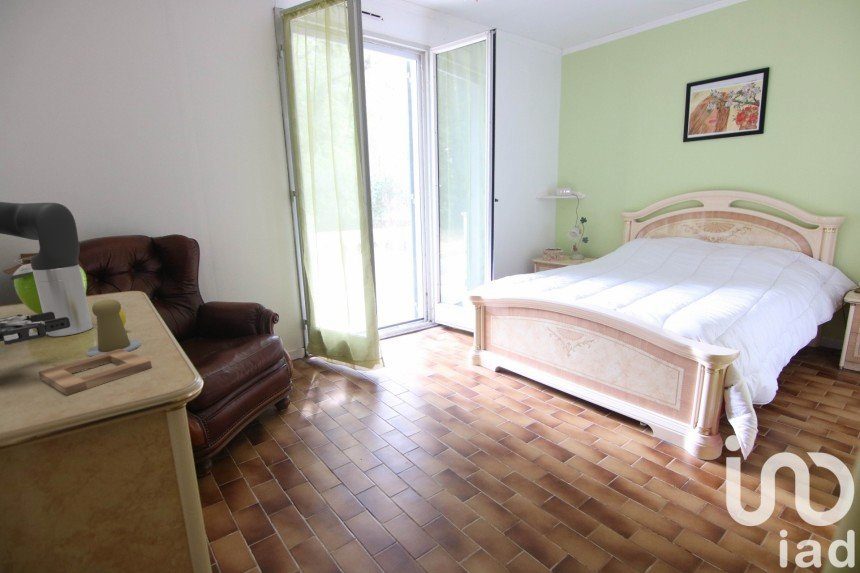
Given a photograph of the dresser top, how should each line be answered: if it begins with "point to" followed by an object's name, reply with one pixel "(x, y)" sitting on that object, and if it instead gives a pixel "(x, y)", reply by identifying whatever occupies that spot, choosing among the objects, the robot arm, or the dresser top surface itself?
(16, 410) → the dresser top surface
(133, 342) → the slate coaster
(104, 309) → the cork
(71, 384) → the walnut board
